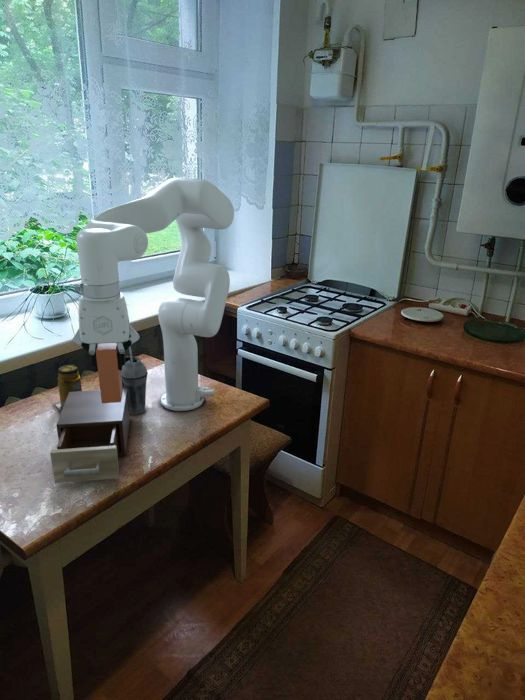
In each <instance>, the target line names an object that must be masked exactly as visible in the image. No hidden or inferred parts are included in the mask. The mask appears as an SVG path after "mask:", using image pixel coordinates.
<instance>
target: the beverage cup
mask: <svg viewBox="0 0 525 700" xmlns="http://www.w3.org/2000/svg"><path fill="white" fill-rule="evenodd" d="M128 350H129V352H128V353H129V356H130V358H131V360H129V361H127V362H126V363H125V365H123V367H122V370H121V377H122V381H123V383H124V385H123V389H127V392H128V404H129V414H132V415H140V414H143V413H145V411H146V400H147V399H146V396H147V379H148V369H147V366H146V364H145V363H144V362H142V360H141V361H139V360H136V359H133V358H132V357H133V352H132V346H130V347H129V348H128Z"/></svg>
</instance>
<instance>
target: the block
mask: <svg viewBox="0 0 525 700" xmlns="http://www.w3.org/2000/svg"><path fill="white" fill-rule="evenodd" d="M117 353H118V347H117V344H116V343H100V344H97V348H96V358H97V366H98V371H97V374H98V382H99V390H100V392H101V401H102V403H116V402H121V399H122V394H123V389H124V387H123V385H122V377H121V370H118V360H117Z"/></svg>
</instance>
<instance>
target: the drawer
mask: <svg viewBox="0 0 525 700" xmlns="http://www.w3.org/2000/svg"><path fill="white" fill-rule="evenodd" d="M119 448H120V433H119V424H112V425H96V426H80V427H64V428H63V431H62V434H61V437H60V439H59V440H58V442H57V445H56V449H51V450H50V452H49V454H50V460H51V468H52V475H53V480H54V481H53V482H54V484H63V483H74V482H75V483H76V482H87V481H89V482H90V481H98V480H99V481H101V480H102V481H103V480H113V479H120V468H119V456H118V454H119Z"/></svg>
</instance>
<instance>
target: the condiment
mask: <svg viewBox="0 0 525 700" xmlns="http://www.w3.org/2000/svg"><path fill="white" fill-rule="evenodd" d="M57 375H58V377H57V386H58V394H59V401H60V402H58V403H55V406H56V408H57V409H58V410H59V411H60V412H61V411H62V409H63V406H64V404H65V401H66V399H67V396H68V394H69V392H78V391H83V388H82V379H81V375H80V374H79V368H78V366H76V365H74V364H65V365H62V366H60V367H59V368H58V369H57Z"/></svg>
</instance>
